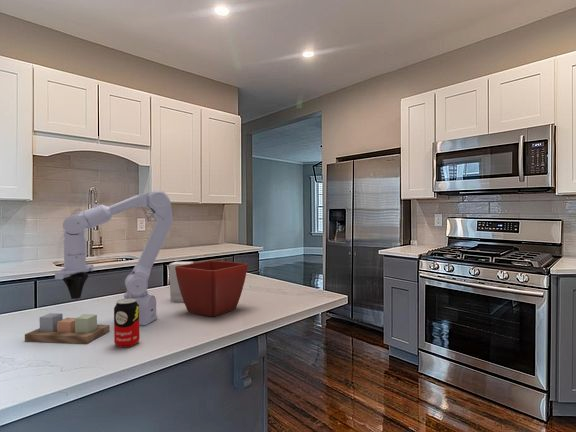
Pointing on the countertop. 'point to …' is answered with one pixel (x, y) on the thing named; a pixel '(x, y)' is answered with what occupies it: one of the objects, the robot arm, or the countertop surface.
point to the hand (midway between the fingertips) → (75, 298)
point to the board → (67, 336)
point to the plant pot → (211, 286)
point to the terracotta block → (66, 325)
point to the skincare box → (175, 282)
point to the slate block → (50, 322)
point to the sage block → (85, 323)
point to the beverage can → (126, 322)
